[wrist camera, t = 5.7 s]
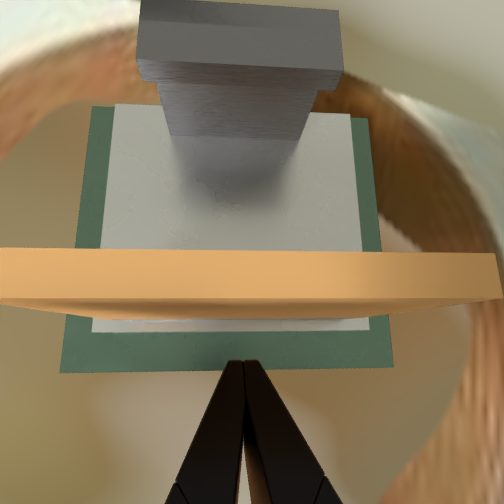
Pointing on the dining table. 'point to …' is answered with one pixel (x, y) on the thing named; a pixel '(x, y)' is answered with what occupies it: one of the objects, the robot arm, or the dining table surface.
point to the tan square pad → (241, 282)
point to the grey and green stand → (229, 182)
